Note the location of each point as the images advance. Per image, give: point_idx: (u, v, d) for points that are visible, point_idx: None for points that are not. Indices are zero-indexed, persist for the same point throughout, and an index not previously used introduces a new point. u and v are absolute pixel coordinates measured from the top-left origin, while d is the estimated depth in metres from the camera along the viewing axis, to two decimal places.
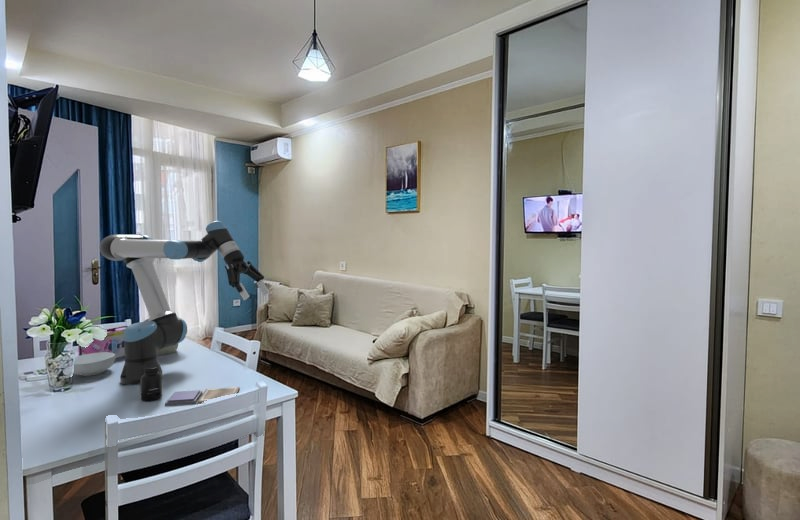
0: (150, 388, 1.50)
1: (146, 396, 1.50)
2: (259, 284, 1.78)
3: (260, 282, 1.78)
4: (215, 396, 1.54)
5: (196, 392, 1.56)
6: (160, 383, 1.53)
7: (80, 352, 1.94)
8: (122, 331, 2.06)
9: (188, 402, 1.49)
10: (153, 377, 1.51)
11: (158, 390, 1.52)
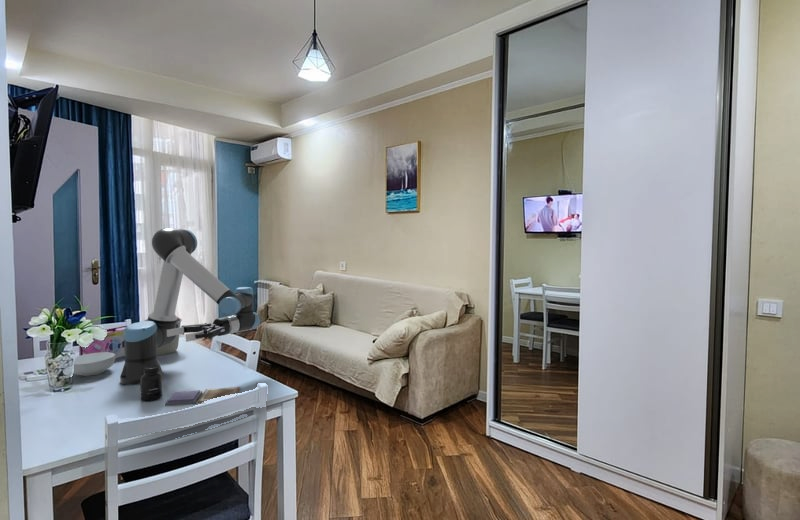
0: (150, 388, 1.50)
1: (146, 396, 1.50)
2: (180, 329, 1.68)
3: (181, 332, 1.69)
4: (215, 396, 1.54)
5: (196, 392, 1.56)
6: (160, 383, 1.53)
7: (81, 352, 1.94)
8: (123, 331, 2.06)
9: (188, 402, 1.49)
10: (153, 377, 1.51)
11: (158, 390, 1.52)
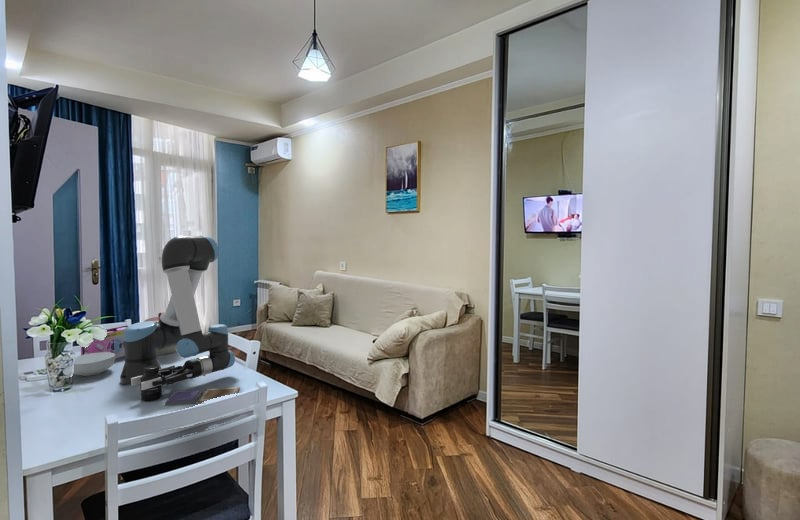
0: (150, 388, 1.50)
1: (146, 395, 1.50)
2: None
3: None
4: (215, 396, 1.54)
5: (196, 392, 1.56)
6: None
7: (83, 352, 1.94)
8: None
9: (188, 402, 1.49)
10: (153, 377, 1.51)
11: (158, 390, 1.52)
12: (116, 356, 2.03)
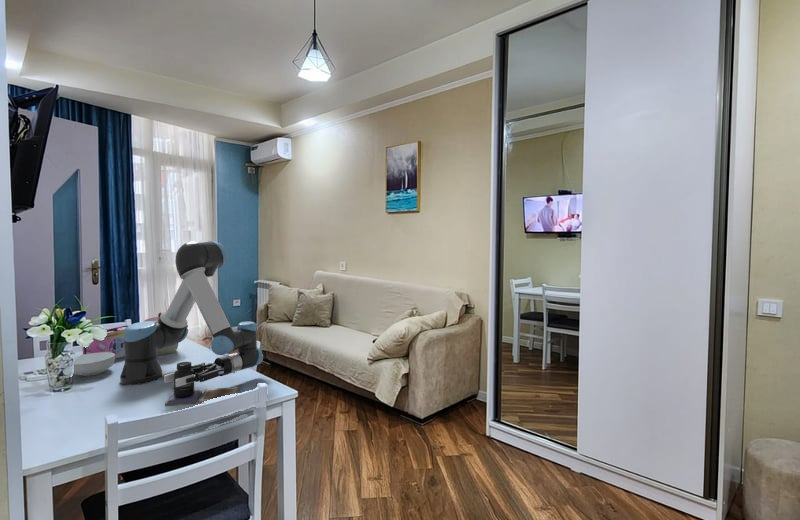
0: (184, 385, 1.50)
1: (179, 392, 1.50)
2: None
3: None
4: (215, 396, 1.54)
5: (196, 392, 1.56)
6: None
7: (85, 352, 1.94)
8: None
9: (188, 402, 1.49)
10: (187, 374, 1.50)
11: (191, 387, 1.52)
12: (118, 356, 2.04)
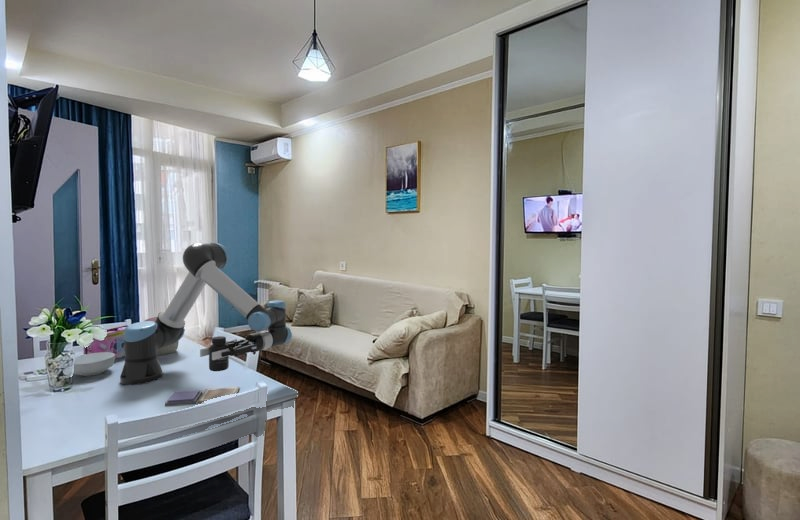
0: None
1: (215, 365, 1.53)
2: None
3: None
4: (215, 396, 1.54)
5: (196, 392, 1.56)
6: None
7: (86, 352, 1.94)
8: None
9: (188, 402, 1.49)
10: (222, 347, 1.53)
11: (225, 360, 1.55)
12: (118, 356, 2.04)
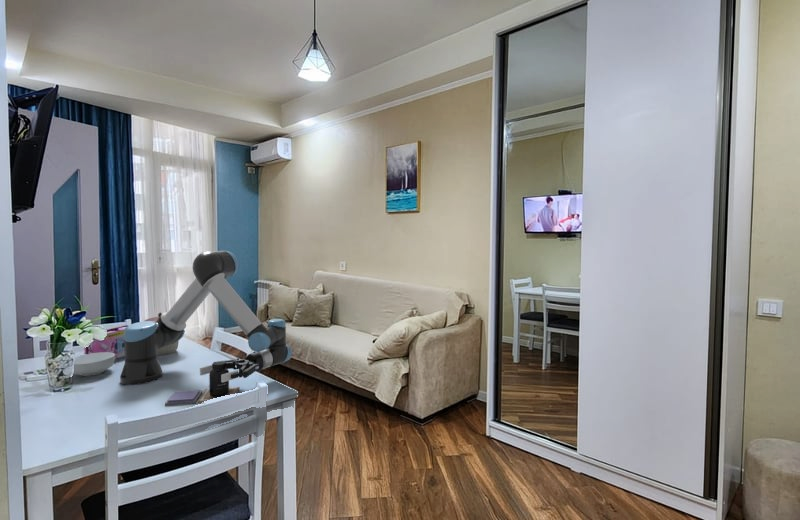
0: (219, 384, 1.53)
1: (215, 391, 1.53)
2: None
3: None
4: None
5: (196, 392, 1.56)
6: None
7: (87, 352, 1.94)
8: None
9: (188, 402, 1.49)
10: (222, 373, 1.54)
11: (226, 386, 1.55)
12: (119, 355, 2.04)
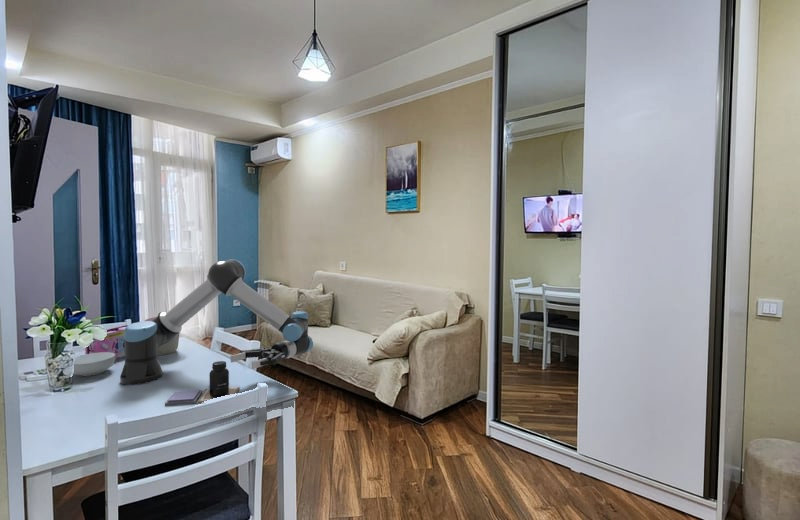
0: (219, 384, 1.53)
1: (215, 391, 1.53)
2: (242, 355, 1.72)
3: (243, 357, 1.73)
4: None
5: (196, 392, 1.56)
6: (228, 378, 1.56)
7: (88, 352, 1.95)
8: None
9: (188, 402, 1.49)
10: (222, 373, 1.54)
11: (226, 386, 1.55)
12: (120, 355, 2.05)
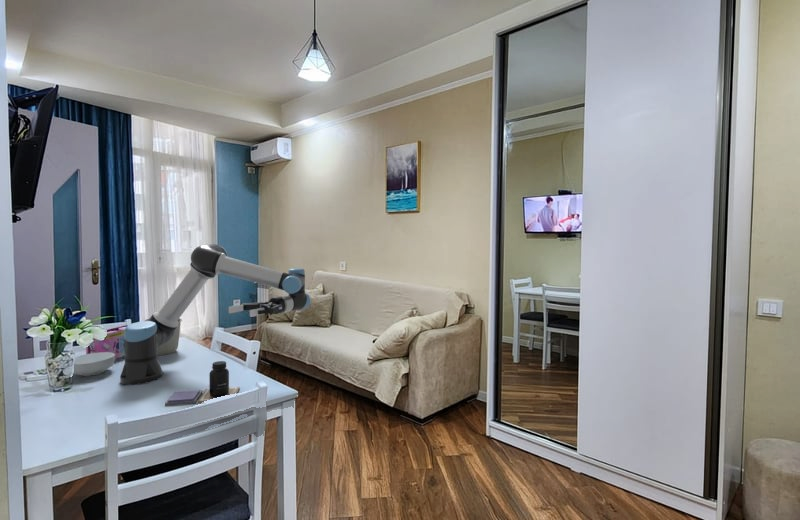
0: (219, 384, 1.53)
1: (215, 391, 1.53)
2: (240, 307, 1.75)
3: (241, 309, 1.76)
4: None
5: (196, 392, 1.56)
6: (228, 378, 1.56)
7: (89, 352, 1.95)
8: None
9: (188, 402, 1.49)
10: (222, 373, 1.54)
11: (226, 386, 1.55)
12: (121, 355, 2.05)
